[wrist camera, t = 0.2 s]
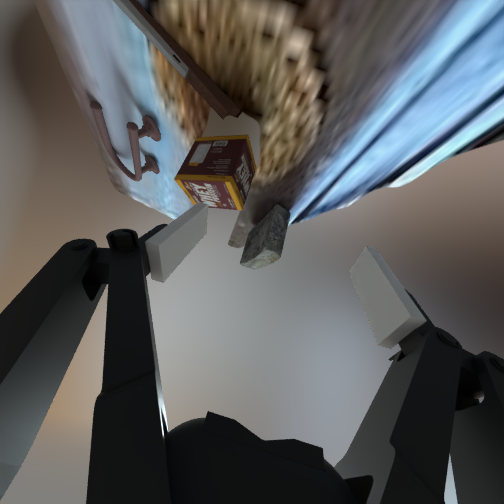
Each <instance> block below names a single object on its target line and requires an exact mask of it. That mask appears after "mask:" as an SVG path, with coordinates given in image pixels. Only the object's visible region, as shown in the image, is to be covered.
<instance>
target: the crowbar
mask: <svg viewBox="0 0 504 504" xmlns="http://www.w3.org/2000/svg"><path fill="white" fill-rule="evenodd" d="M113 1H114V2H115V3H116V4H117V5H118V6H119V7H120V8H121V10H122V11H123V12H124V13H125V14H126V15H127V16H128V17H129V18H130V19H131V20H132V22H133V23H134V24H135V25H136V26H137V27H138V28H139V29H140V30H141V31H142V32H143V33H144V35H145V36H146V37H147V38H148V39H149V40H150V41H151V42H152V43H153V44H154V45H155V47H156V48H157V49H158V50H159V51H160V52H161V53H162V54H163V55H164V56H165V57H166V59H167V60H168V61H169V62H170V63H171V64H172V65H173V66H174V67H175V68H176V69H177V70H178V72H179V73H180V74H181V75H182V76H183V77H184V78H185V79H186V80H187V81H188V82H189V83H190V84H191V85H192V86H193V87H194V88H195V90H196V91H197V92H198V93H199V94H200V95H201V96H202V97H203V98H204V99H205V100H206V102H207V103H208V104H209V105H210V106H211V107H212V108H213V109H214V110H215V111H216V112H217V114H218V115H219V116H220V117H221V118H222V119H224V118H225V116H227V115H231V116H234V117H236V118H238V117H239V115H240V114H241V113H242V111H241V110H240V109H239V108H238V107H237V106H236V105H235V104H234V102H233V101H232V100H231V99H230V98H229V97H228V96H227V95H226V94H225V93H224V92H223V91H222V90H221V89H220V88H219V87H218V86H217V85H216V84H215V83H214V82H213V81H212V80H211V79H210V78H209V77H208V76H207V75H206V74H205V73H204V72H203V71H202V70H201V69H200V67H199V66H198V65H197V64H196V63H195V62H194V61H193V60H192V59H191V58H190V57H189V56H188V55H187V54H186V53H185V52H184V51H183V50H182V49H181V48H180V46H179V45H178V44H177V43H176V42H175V41H174V40H173V39H172V38H171V37H170V36H169V35H168V34H167V33H166V32H165V31H164V29H163V28H162V27H161V26H160V25H159V24H158V23H157V22H156V21H155V20H154V19H153V18H152V17H151V16H150V15H149V14H148V12H147V11H146V10H145V9H144V8H143V7H142V6H141V5H140V4H139V3H138V2H137V1H136V0H113Z"/></svg>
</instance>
